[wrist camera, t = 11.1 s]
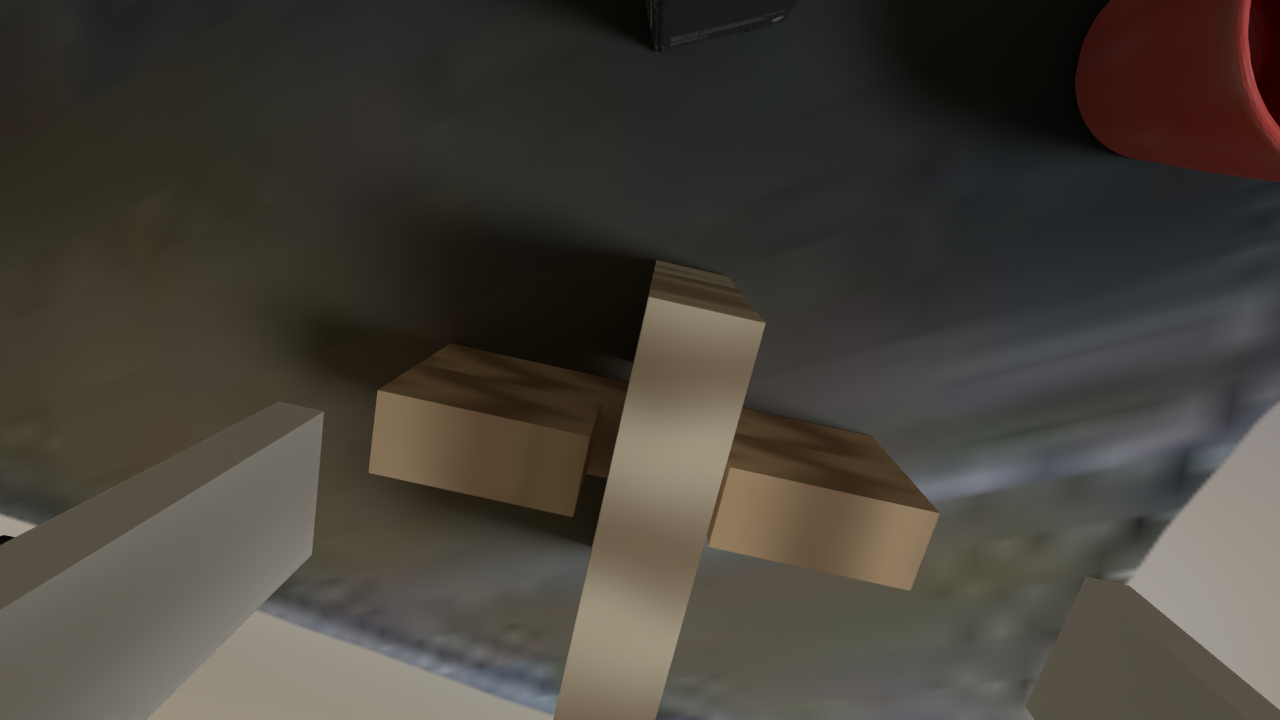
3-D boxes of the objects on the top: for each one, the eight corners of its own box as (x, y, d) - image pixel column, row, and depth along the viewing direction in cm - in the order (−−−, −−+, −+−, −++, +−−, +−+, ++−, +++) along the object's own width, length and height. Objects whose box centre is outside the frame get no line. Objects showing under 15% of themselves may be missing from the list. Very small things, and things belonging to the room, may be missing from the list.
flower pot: (1296, -117, 24) (1687, -316, 15) (1299, 159, 27) (1636, 135, 18) (1024, -34, 26) (1231, -171, 16) (1052, 222, 28) (1245, 233, 19)
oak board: (441, 407, 32) (368, 472, 24) (450, 343, 31) (377, 390, 23) (851, 496, 32) (910, 590, 24) (872, 436, 31) (939, 513, 23)
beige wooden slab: (653, 560, 33) (646, 750, 22) (591, 546, 33) (551, 730, 22) (726, 276, 29) (765, 323, 18) (656, 260, 29) (648, 296, 18)
